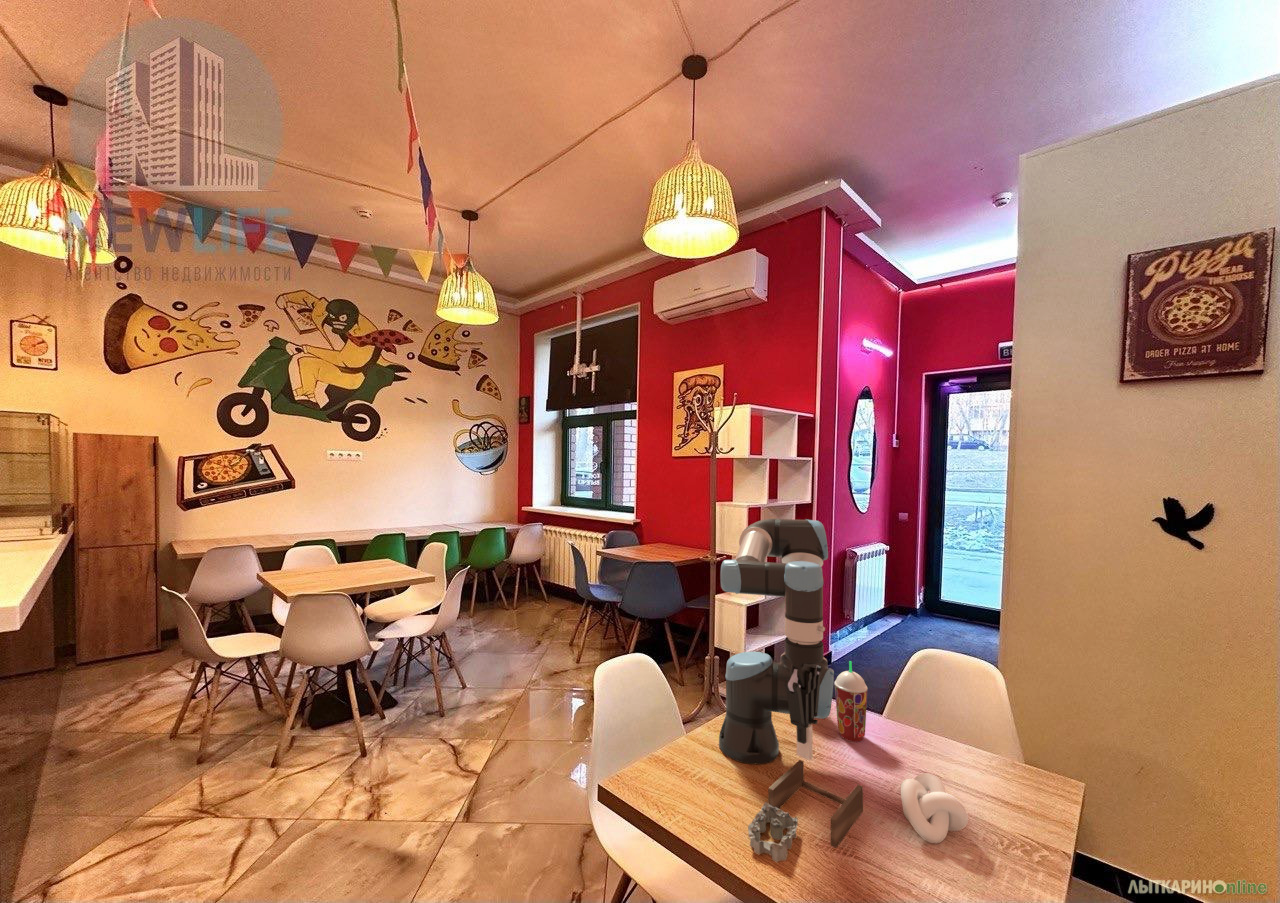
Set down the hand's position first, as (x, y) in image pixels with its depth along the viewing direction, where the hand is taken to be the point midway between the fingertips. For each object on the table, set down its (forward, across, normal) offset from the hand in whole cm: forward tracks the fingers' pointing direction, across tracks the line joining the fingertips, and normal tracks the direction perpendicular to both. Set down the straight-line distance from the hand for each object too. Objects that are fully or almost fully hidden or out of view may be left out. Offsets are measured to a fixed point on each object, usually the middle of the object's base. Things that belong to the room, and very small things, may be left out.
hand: (804, 756), depth 99 cm
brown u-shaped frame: (+13, +4, 0) cm, 14 cm away
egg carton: (+13, -9, +2) cm, 16 cm away
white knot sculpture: (+14, +16, -18) cm, 28 cm away
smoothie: (+14, +41, +6) cm, 44 cm away
